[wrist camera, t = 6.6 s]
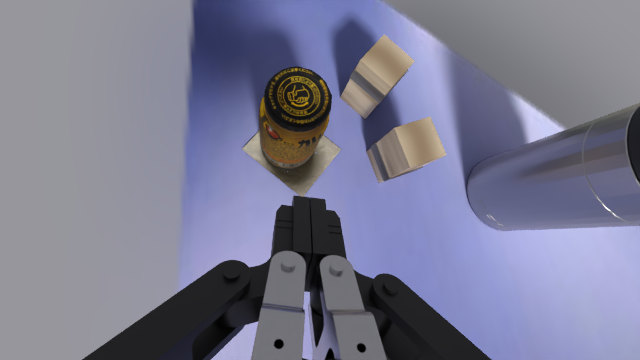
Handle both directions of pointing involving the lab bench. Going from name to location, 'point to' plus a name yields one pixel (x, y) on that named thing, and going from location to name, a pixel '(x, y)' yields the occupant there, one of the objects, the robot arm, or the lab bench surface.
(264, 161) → the condiment
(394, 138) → the banded post
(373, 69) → the banded post
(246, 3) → the lab bench surface
